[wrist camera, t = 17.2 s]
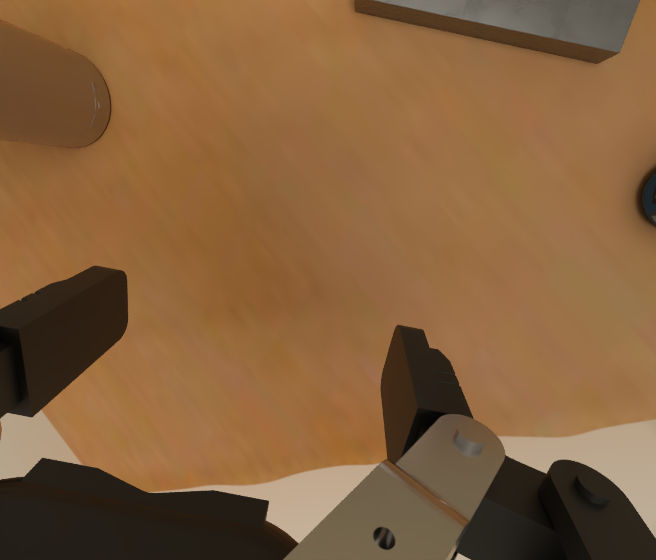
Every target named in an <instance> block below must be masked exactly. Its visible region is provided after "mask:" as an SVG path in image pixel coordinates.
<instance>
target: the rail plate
mask: <svg viewBox="0 0 656 560" xmlns="http://www.w3.org/2000/svg"><path fill="white" fill-rule="evenodd" d="M639 2H640V0H355V12H360V13H364V14H369V15H374V16H378V17H383V18H388V19H392V20H397V21H401V22H406V23H411V24H415V25H420V26H425V27H429V28H434V29H439V30H443V31H448V32H453V33H457V34H462V35H467V36H471V37H476V38H481V39H485V40H490V41H495V42H499V43H504V44H509V45H513V46H518V47H522V48H527V49H532V50H536V51H541V52H546V53H550V54H555V55H560V56H564V57H569V58H574V59H578V60H583V61H588V62H592V63H597V64H598V63H600V62H602V61H604V60H606V59H608V58H610V57H612V56H614V55H616V54H618V53H620V50H621V48H622V45H623V43H624V40H625V38H626V35H627V32H628V30H629V27H630V25H631V22H632V20H633V17H634V14H635V12H636V9H637V7H638V4H639Z"/></svg>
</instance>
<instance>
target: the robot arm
mask: <svg viewBox="0 0 656 560" xmlns="http://www.w3.org/2000/svg"><path fill="white" fill-rule="evenodd" d="M109 114H110V98H109V94H108V89H107V87H106V84H105V82H104V80H103V78H102V76H101V75H100V73H99V71H98V70H97V69H96V68H95V67H94V65H93V64H92V63H91V62H90V61H88V60H87V59H86V58H84V57H83V56H82V55H80V54H77V53H75V52H73V51H71V50H69V49H66V48H64V47H62V46H60V45H57V44H55V43H53V42H50V41H48V40H46V39H44V38H42V37H39V36H37V35H35V34H32V33H30V32H28V31H26V30H23V29H21V28H19V27H16V26H14V25H12V24H9V23H7V22H5V21H3V20H0V140H7V141H16V142H25V143H35V144H43V145H52V146H62V147H83V146H87V145H89V144H91V143H93V142H94V141H95V140H97V139H98V138H99V137H100V136H101V134H102V133H103V131H104V130H105V128H106V126H107V123H108V120H109ZM127 323H128V294H127V276H126V274H125V272H123V271H121V270H116V269H111V268H106V267H101V266H92V267H90V268H88V269H87V270H85V271H83V272H81V273H79V274H77V275H75V276H73V277H71V278H69V279H67V280H63V281H59V282H55V283H51V284H49V285H47V286H45V287H43V288H41V289H39V290H37V291H36V292H35V294H33V293H32V294H30V295H28V296H26V297H24V298H22V300H21V301H20V300H18V301H16V302H14V303H12V304H10V305H8V306H6V307H4V308H2V309H0V418H1V417H3V416H4V415H5V414H6V413H12V414H17V415H22V416H27V417H33V416H34V415H35V414H36V413H38V412H39V411H40V410H41V409H42V408H43V407H44V406H45V405H47V404H48V403H49V402H50V401H51V400H52V399H53V398H54V397H56V396H57V395H58V394H59V393H60V392H61V391H62V390H63V389H65V388H66V387H67V386H68V385H69V384H70V383H71V382H72V381H74V380H75V379H76V378H77V377H78V376H79V375H80V374H81V373H83V372H84V371H85V370H86V369H87V368H88V367H89V366H90V365H92V364H93V363H94V362H95V361H96V360H97V359H98V358H99V357H101V356H102V355H103V354H104V353H105V352H106V351H107V350H108V349H110V348H111V347H112V346H113V345H114V344H115V343H116V342H117V341H119V340H120V339H121V337H122V336H123V334H124V332H125V330H126V327H127ZM381 398H382V408H383V418H384V428H385V438H386V448H387V458H388V459H386V460H384V461H382V462H381V463H380V464H379V465H378V466H377V467H376V468H375V469H374V470H373V471H372V472H371V473H370V474H369V475H368V476H367V477H366V478H365V479H364V480H363V481H362V482H361V483H360V484H359V485H358V486H357V487H356V488H355V489H354V490H353V491H352V492H351V493H350V494H349V495H348V496H347V497H346V498H345V499H344V500H343V501H342V502H341V503H340V504H339V505H338V506H337V507H336V508H335V509H334V510H333V511H332V512H330V514H328V515H327V516H326V518H324V520H322V521H321V522H320V523H319V524H318V526H317V527H315V528H314V529H313V531H311V532H310V533H309V534H308V535H307V536H306V537H305V538H304V539H303V540H302V541H301V542H300V543H297V542H296V541H295V540H294V539H293V538H292V537H291V536H289V535H288V534H287V533H286V532H284V531H283V530H281V529H280V528H278V527H277V526H275V525H273V524H272V523H270V522H268V521H266V516H267V511H268V505H269V501H267V500H261V499H256V498H251V497H245V496H240V495H235V494H230V493H225V492H219V491H214V490H211V491H190V492H169V493H148V492H145V491H142V490H140V489H138V488H136V487H134V486H132V485H130V484H128V483H126V482H124V481H122V480H120V479H118V478H116V477H114V476H112V475H110V474H108V473H106V472H104V471H102V470H100V469H99V468H94V467H88V466H83V465H78V464H73V463H67V462H62V461H57V460H51V459H46V458H42V459H41V460H40V461H39V462H38V463H37V464H36V465H35V466H34V467H33V468H32V469H31V470H30V471H29V473H27V475H26V476H25V477H16V478H9V479H2V480H0V560H455V559H456V557H457V555H458V554H459V553H460V554H461V555H463V556H465V557H467V558H469V559H471V560H656V538H655V537H654V536H653V534H652V533H651V531H650V530H649V528H648V527H647V525H646V524H645V522H644V521H643V519H642V518H641V517H640V515H639V514H638V512H637V511H636V509H635V508H634V506H633V505H632V503H631V502H630V501H629V499H628V498H627V497H626V495H625V494H624V493H623V492H622V491H621V490H620V489H619V488H618V487H617V486H616V485H615V484H614V483H613V482H612V481H610V480H609V479H608V478H606V477H605V476H604V475H602V474H601V473H599V472H597V471H596V470H594V469H592V468H590V467H588V466H586V465H584V464H581V463H579V462H575V461H571V460H558V461H556V462H554V463H553V464H552V465H551V467H550V468H549V470H548V472H547V474H546V473H543V472H541V471H538V470H536V469H534V468H532V467H529V466H527V465H525V464H522V463H520V462H518V461H516V460H514V459H511V458H509V457H508V456H506V455H505V450H504V447H503V445H502V443H501V441H500V439H499V438H498V437H497V436H496V435H495V434H494V433H493V432H492V431H491V430H490V429H489V428H488V427H486V426H485V425H483V424H482V423H480V422H479V421H477V420H475V419H474V418H473V416H472V414H471V411H470V409H469V406H468V404H467V401H466V399H465V397H464V394H463V392H462V389H461V387H460V386H459V382H458V380H457V377H456V376H455V372H454V370H453V367H452V365H451V363H450V361H449V360H448V359H447V358H446V357H445V356H444V355H443V354H442V353H441V352H440V351H439V350H438V349H433V348H429V345H428V342H427V339H426V336H425V333H424V331H423V330H422V329H417V328H412V327H407V326H402V325H397V326H396V328H395V330H394V333H393V337H392V340H391V344H390V347H389V351H388V354H387V358H386V361H385V365H384V368H383V372H382V378H381ZM1 430H2V429H1V422H0V438H1Z"/></svg>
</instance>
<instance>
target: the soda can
mask: <svg viewBox="0 0 656 560" xmlns="http://www.w3.org/2000/svg"><path fill="white" fill-rule="evenodd" d="M642 204H643V208H644V211H645V213H646V215H647V217H648V218H649V220H650V221H651V222H652V223H653V224H654V225H656V172H655V173H654V174H653V175H652V177H651V178H650V179H649V180H648V182H647V183H646V185H645V188H644V190H643V194H642Z"/></svg>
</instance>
